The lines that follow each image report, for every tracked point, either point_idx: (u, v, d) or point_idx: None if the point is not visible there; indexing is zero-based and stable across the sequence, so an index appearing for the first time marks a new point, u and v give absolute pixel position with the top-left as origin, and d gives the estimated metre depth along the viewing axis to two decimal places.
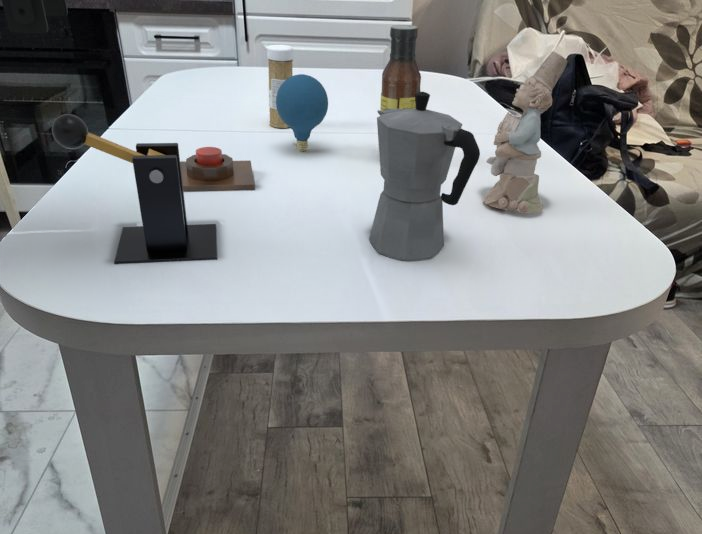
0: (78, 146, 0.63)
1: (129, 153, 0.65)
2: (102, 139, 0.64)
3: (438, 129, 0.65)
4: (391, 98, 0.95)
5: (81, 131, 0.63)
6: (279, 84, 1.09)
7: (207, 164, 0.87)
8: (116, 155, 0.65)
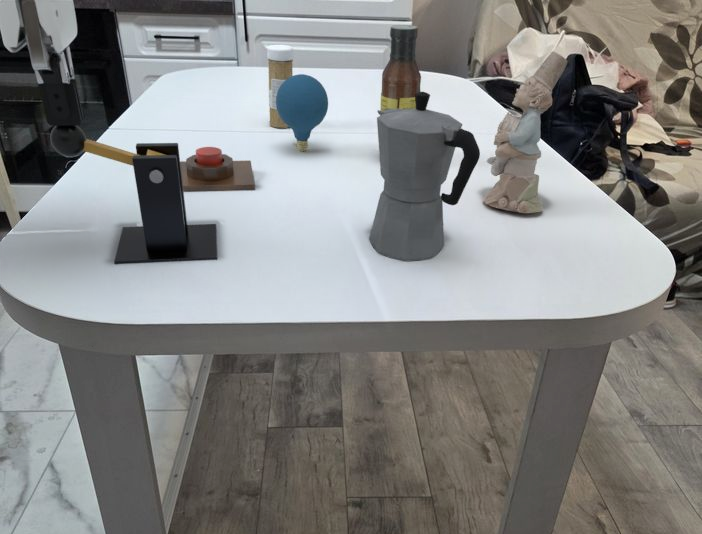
0: (77, 153, 0.64)
1: (128, 156, 0.65)
2: (100, 144, 0.65)
3: (438, 129, 0.65)
4: (391, 98, 0.95)
5: (79, 138, 0.63)
6: (279, 84, 1.09)
7: (207, 164, 0.87)
8: (115, 158, 0.65)
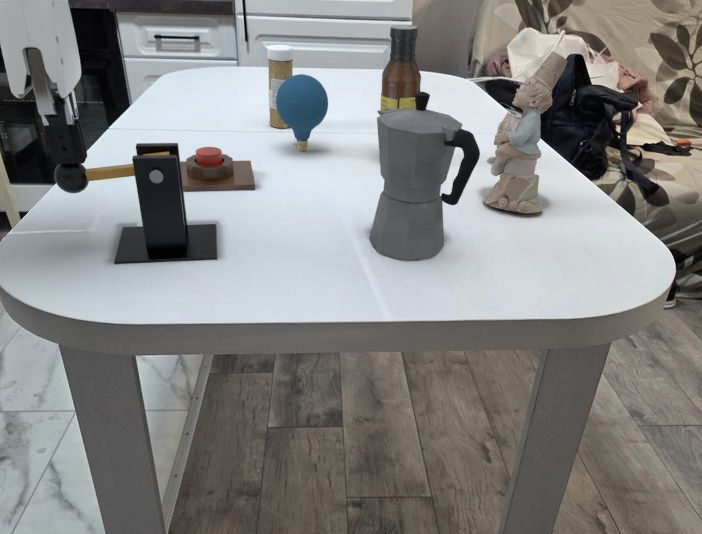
0: (83, 186, 0.66)
1: (127, 168, 0.66)
2: (100, 168, 0.66)
3: (438, 129, 0.65)
4: (391, 98, 0.95)
5: (77, 171, 0.65)
6: (279, 84, 1.09)
7: (207, 164, 0.87)
8: (117, 176, 0.66)
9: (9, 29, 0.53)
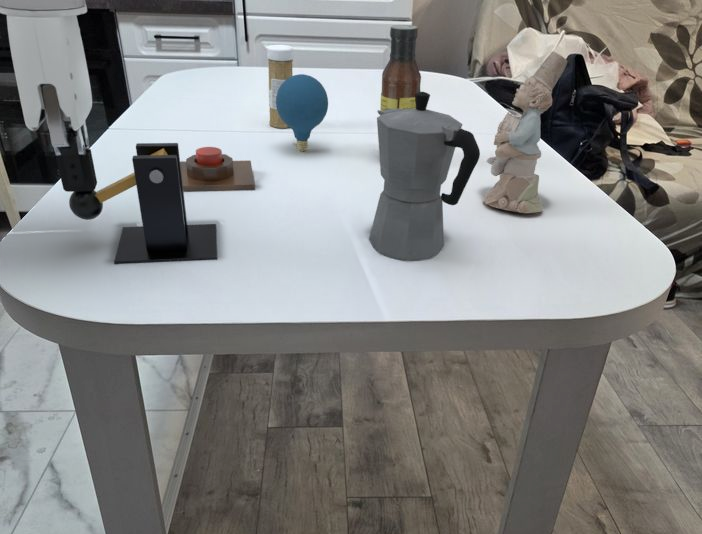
0: (98, 208, 0.67)
1: (130, 178, 0.67)
2: (107, 187, 0.67)
3: (438, 129, 0.65)
4: (391, 98, 0.95)
5: (88, 196, 0.66)
6: (279, 84, 1.09)
7: (207, 164, 0.87)
8: (124, 188, 0.67)
9: (25, 67, 0.55)
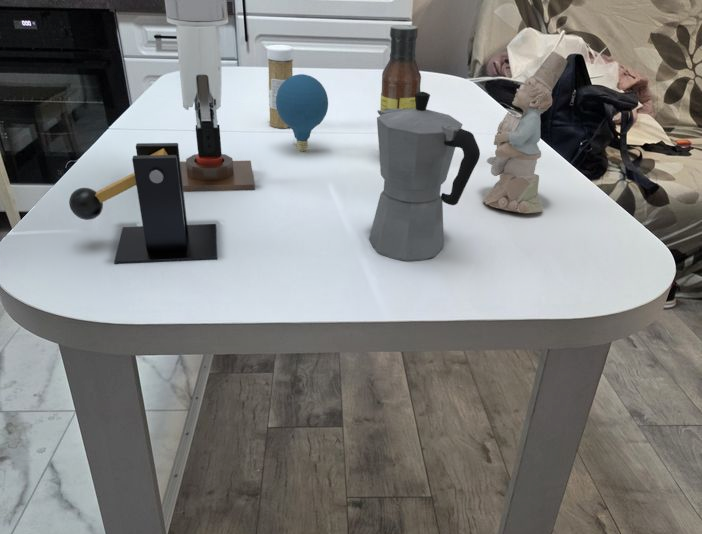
0: (98, 208, 0.67)
1: (130, 178, 0.67)
2: (107, 187, 0.67)
3: (438, 129, 0.65)
4: (391, 98, 0.95)
5: (88, 196, 0.66)
6: (279, 84, 1.09)
7: None
8: (124, 188, 0.67)
9: (189, 62, 0.76)
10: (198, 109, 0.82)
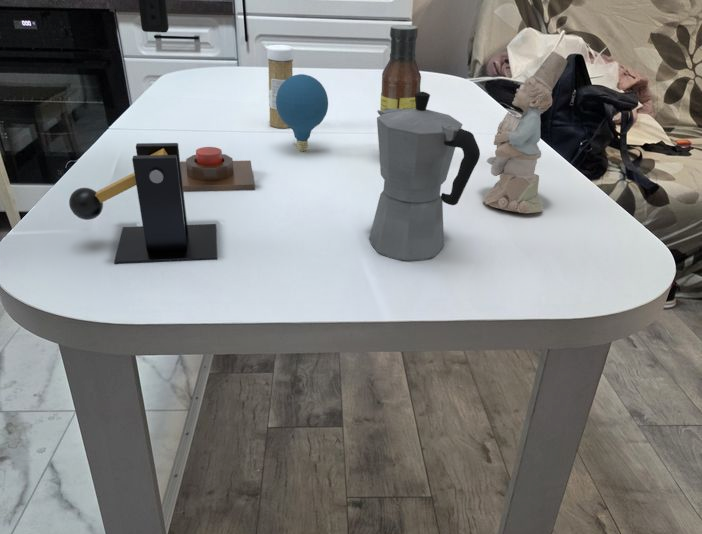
0: (98, 208, 0.67)
1: (130, 178, 0.67)
2: (107, 187, 0.67)
3: (438, 129, 0.65)
4: (391, 98, 0.95)
5: (88, 196, 0.66)
6: (279, 84, 1.09)
7: (207, 164, 0.87)
8: (124, 188, 0.67)
9: None
10: None
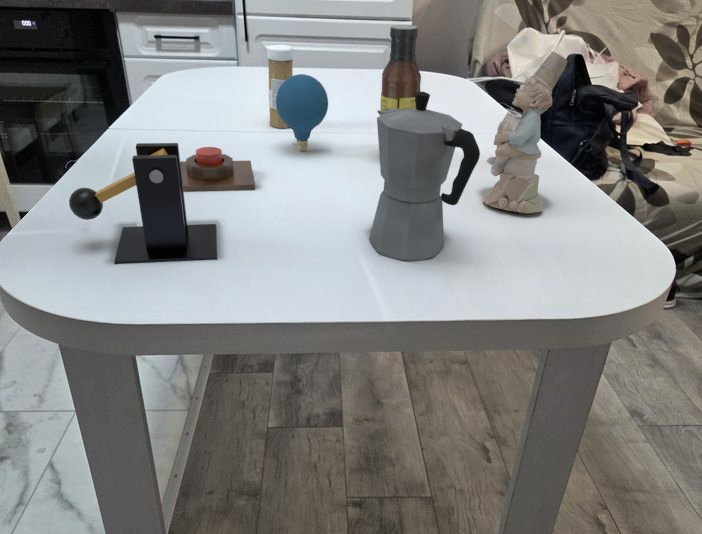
0: (98, 208, 0.67)
1: (130, 178, 0.67)
2: (107, 187, 0.67)
3: (438, 129, 0.65)
4: (391, 98, 0.95)
5: (88, 196, 0.66)
6: (279, 84, 1.09)
7: (207, 164, 0.87)
8: (124, 188, 0.67)
9: None
10: None
